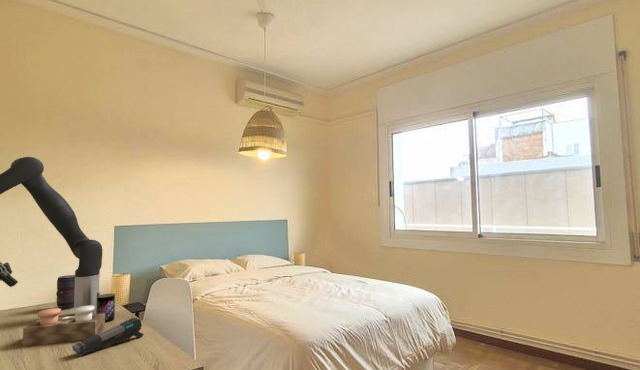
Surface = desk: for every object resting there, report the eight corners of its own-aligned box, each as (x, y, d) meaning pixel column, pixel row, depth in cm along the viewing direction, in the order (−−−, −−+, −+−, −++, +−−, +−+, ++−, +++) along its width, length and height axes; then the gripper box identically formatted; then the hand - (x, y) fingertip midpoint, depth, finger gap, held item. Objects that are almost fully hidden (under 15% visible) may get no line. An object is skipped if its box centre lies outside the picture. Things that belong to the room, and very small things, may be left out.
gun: (147, 336, 123) (137, 312, 121) (87, 375, 108) (75, 349, 106) (141, 333, 126) (132, 310, 124) (82, 371, 111) (70, 345, 109)
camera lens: (69, 310, 160) (70, 277, 161) (51, 310, 160) (52, 278, 160) (81, 305, 168) (81, 274, 169) (64, 305, 168) (65, 274, 169)
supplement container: (91, 323, 140) (92, 297, 141) (103, 317, 147) (104, 293, 148) (107, 323, 139) (107, 297, 140) (118, 318, 146) (119, 293, 147)
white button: (96, 323, 131) (97, 304, 131) (90, 329, 124) (90, 309, 125) (77, 325, 129) (77, 306, 129) (69, 331, 123) (69, 311, 123)
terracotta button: (63, 326, 128) (64, 307, 128) (55, 332, 121) (55, 312, 122) (43, 328, 126) (43, 309, 127) (33, 334, 120) (33, 314, 120)
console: (104, 329, 133) (105, 312, 133) (95, 338, 123) (95, 320, 123) (38, 335, 127) (38, 318, 127) (22, 346, 117) (23, 326, 118)
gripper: (-30, 246, 114) (12, 280, 117) (-4, 242, 127) (33, 273, 129) (-51, 263, 113) (-7, 297, 115) (-22, 257, 125) (16, 288, 128)
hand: (14, 284), depth 122 cm, fingers closed
